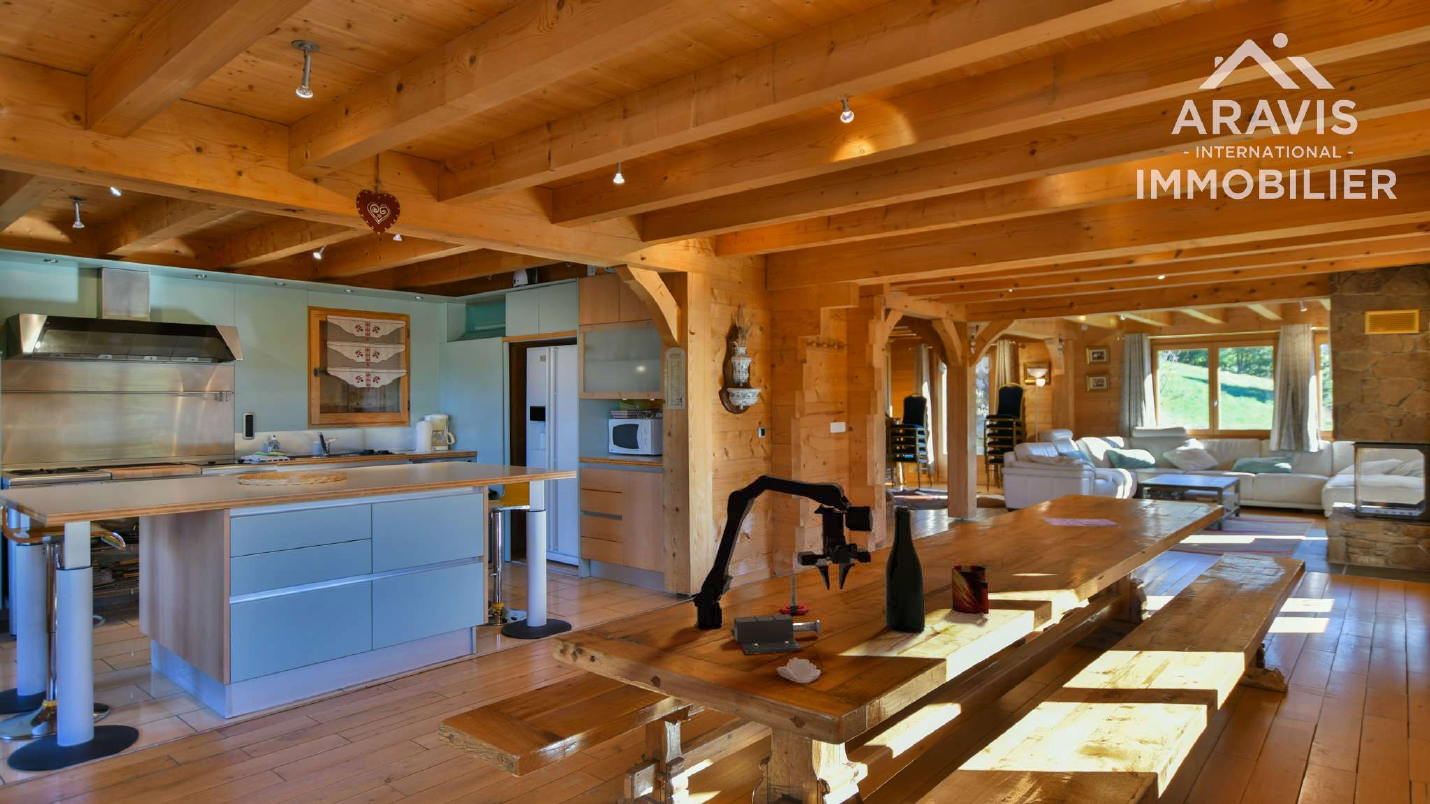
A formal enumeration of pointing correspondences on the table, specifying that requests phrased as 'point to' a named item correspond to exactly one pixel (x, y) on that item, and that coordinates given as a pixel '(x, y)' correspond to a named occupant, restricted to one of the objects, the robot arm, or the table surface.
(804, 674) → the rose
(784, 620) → the hinge
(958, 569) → the mug
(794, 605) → the tow hook
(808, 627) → the pin
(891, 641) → the table surface
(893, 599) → the beer bottle
